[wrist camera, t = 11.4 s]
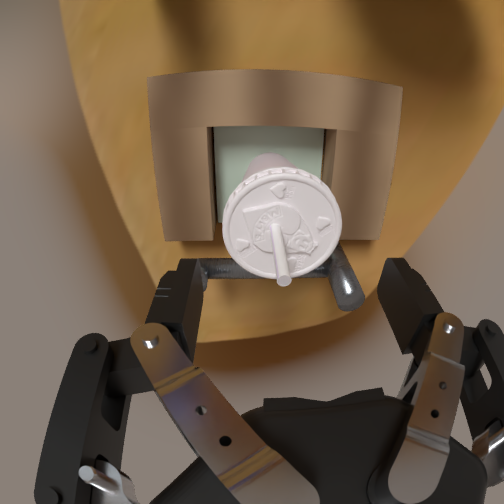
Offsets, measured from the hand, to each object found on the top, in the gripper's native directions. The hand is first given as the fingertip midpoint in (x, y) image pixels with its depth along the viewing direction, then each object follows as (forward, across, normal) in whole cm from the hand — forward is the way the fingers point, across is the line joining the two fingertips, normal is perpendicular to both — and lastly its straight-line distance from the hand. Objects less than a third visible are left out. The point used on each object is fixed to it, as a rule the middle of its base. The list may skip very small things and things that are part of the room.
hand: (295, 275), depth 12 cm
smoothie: (+13, 0, 0) cm, 13 cm away
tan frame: (+14, 0, -2) cm, 14 cm away
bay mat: (+14, 0, 0) cm, 14 cm away
